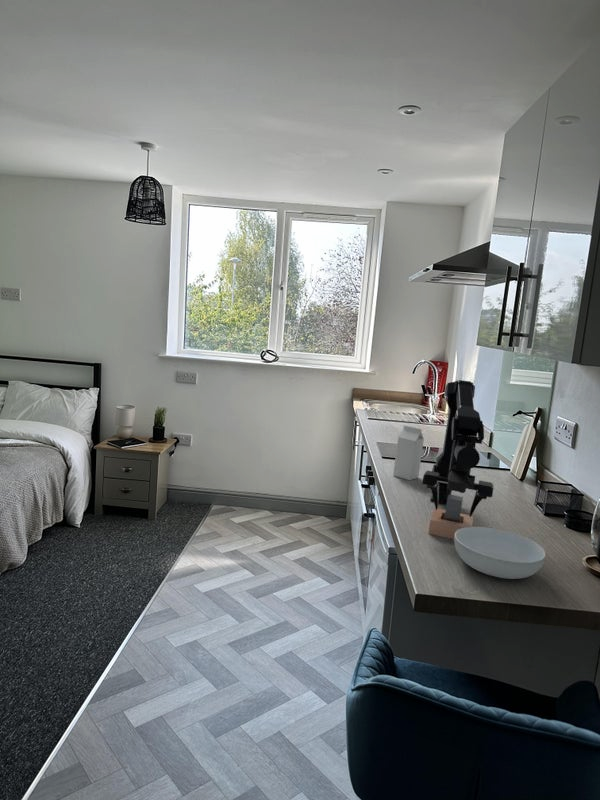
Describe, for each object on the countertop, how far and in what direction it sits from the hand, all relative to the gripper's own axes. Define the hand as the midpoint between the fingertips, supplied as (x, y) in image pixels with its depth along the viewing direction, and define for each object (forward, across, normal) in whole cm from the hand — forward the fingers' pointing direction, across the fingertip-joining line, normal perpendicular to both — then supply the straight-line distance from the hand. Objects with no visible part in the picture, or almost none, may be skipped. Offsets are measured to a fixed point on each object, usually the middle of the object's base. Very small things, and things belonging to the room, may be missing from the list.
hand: (453, 512), depth 154 cm
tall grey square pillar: (+6, 0, 0) cm, 6 cm away
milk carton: (+6, -20, +48) cm, 52 cm away
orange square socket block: (+6, 0, 0) cm, 6 cm away
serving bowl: (+6, +12, -19) cm, 23 cm away
